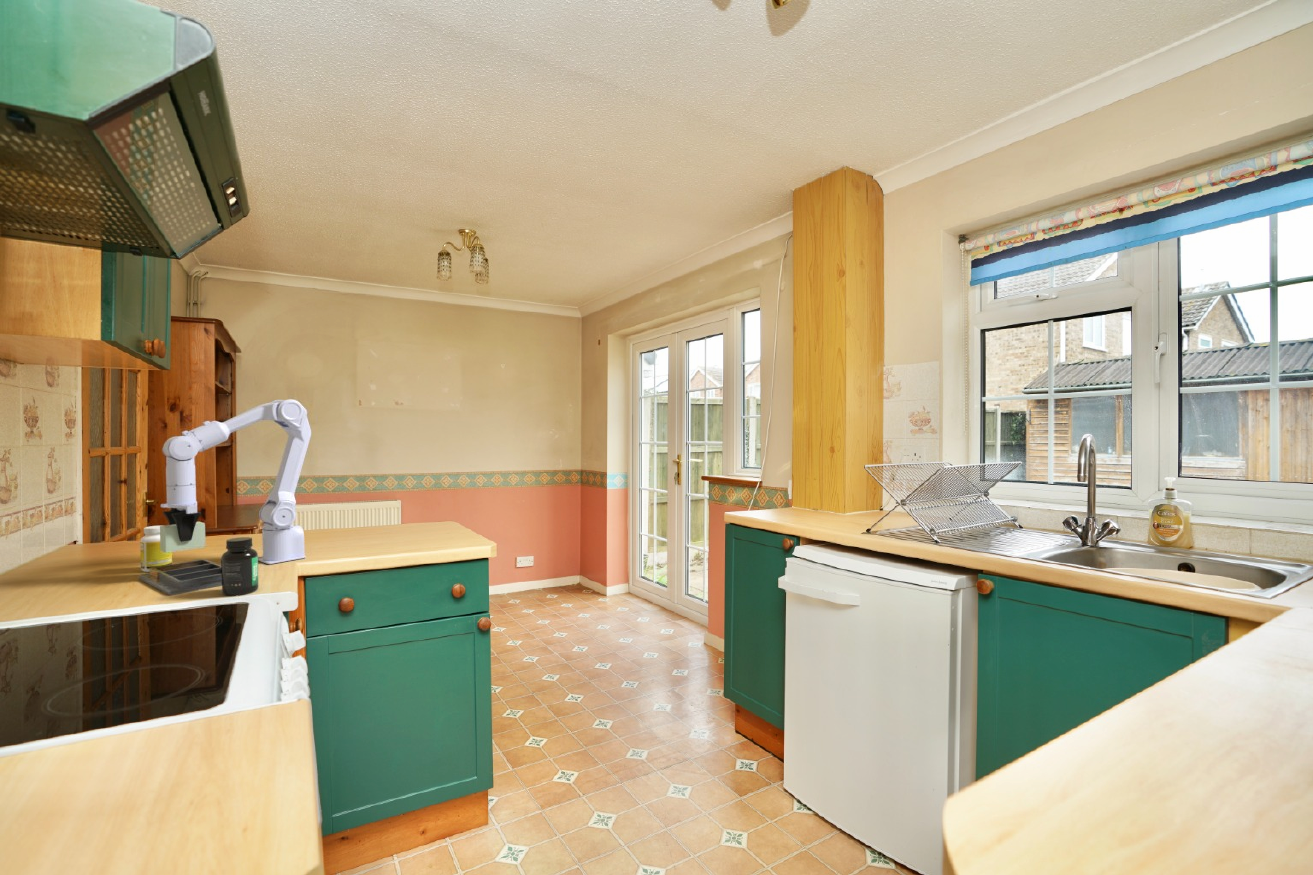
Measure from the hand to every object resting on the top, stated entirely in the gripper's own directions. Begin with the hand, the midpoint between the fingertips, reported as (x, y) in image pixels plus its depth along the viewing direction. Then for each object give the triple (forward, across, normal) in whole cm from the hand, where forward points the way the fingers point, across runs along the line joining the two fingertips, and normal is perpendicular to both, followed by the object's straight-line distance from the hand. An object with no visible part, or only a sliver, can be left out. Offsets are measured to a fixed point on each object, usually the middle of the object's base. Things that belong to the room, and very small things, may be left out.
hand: (182, 539), depth 150 cm
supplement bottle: (+9, +27, +3) cm, 28 cm away
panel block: (+2, 0, 0) cm, 2 cm away
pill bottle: (+9, -12, -2) cm, 16 cm away
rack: (+9, +7, 0) cm, 11 cm away
